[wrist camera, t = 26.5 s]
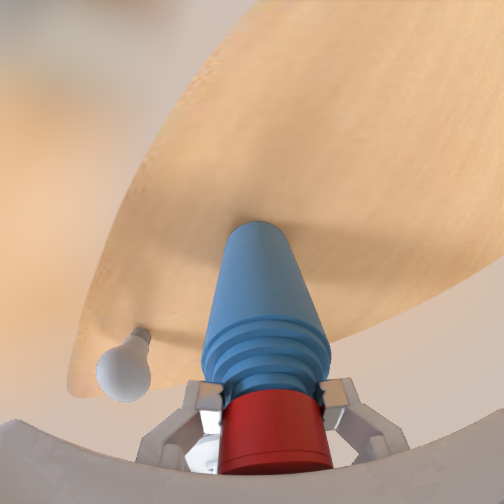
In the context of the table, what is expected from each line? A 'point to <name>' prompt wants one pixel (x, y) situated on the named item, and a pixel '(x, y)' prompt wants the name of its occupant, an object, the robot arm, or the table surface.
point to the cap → (272, 435)
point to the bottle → (263, 319)
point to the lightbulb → (126, 368)
